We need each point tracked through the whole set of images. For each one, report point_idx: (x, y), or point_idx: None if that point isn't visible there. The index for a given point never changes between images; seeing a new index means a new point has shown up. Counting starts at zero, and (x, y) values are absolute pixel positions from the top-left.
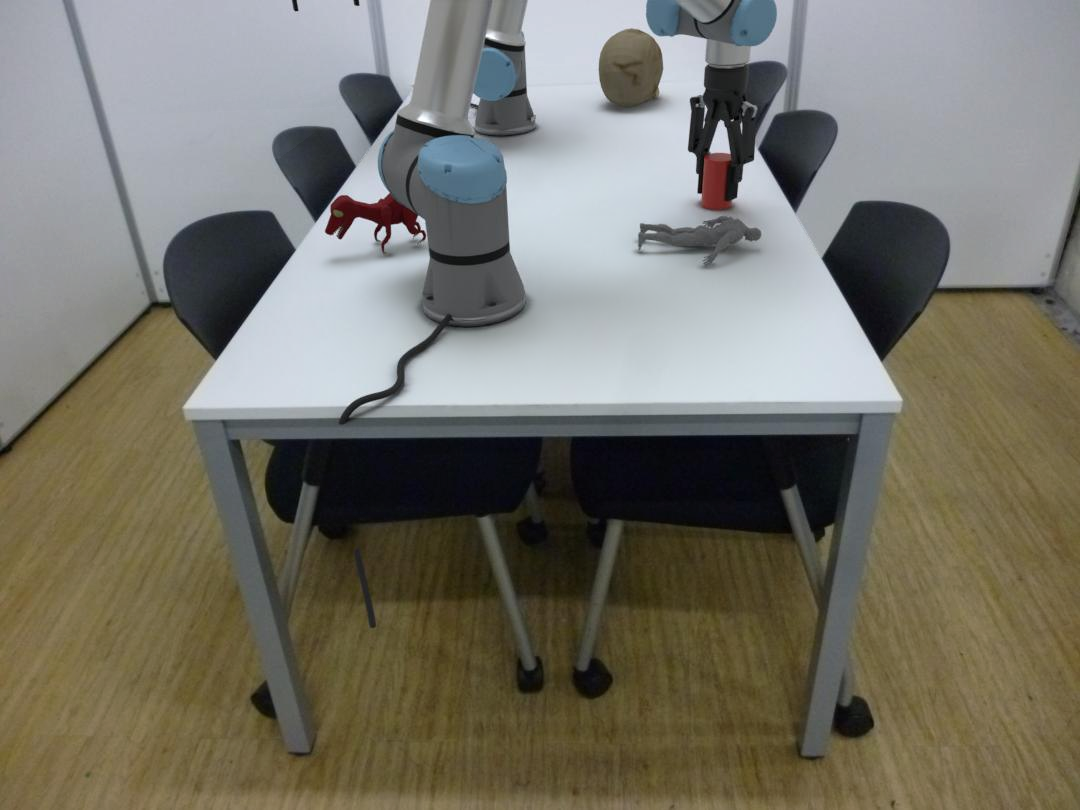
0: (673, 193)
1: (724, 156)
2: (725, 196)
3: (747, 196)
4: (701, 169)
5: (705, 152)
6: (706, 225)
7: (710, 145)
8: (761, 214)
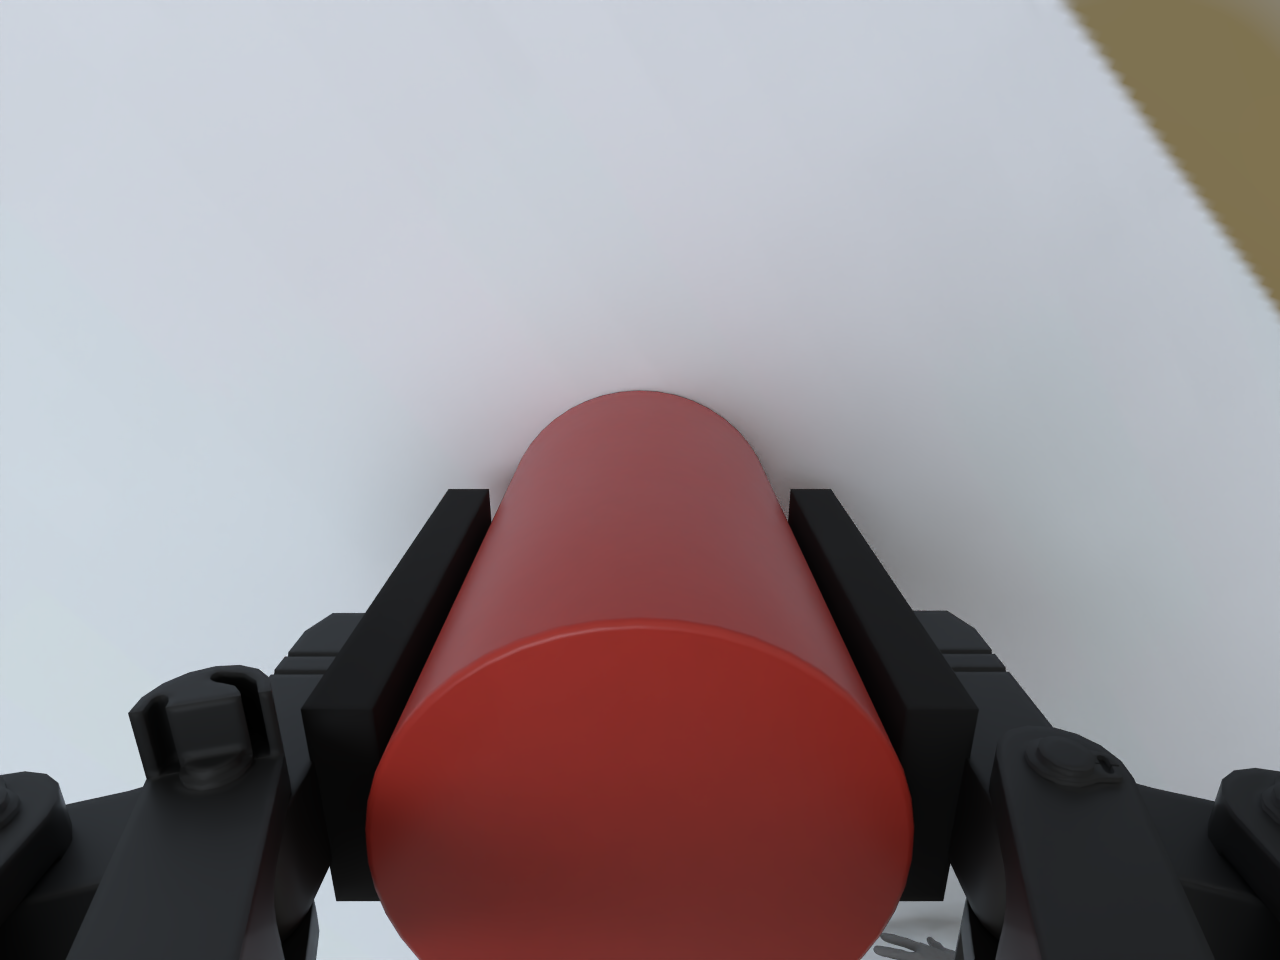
0: (160, 517)
1: (683, 802)
2: None
3: (722, 118)
4: None
5: (283, 848)
6: (903, 954)
7: (257, 894)
8: (1078, 463)
